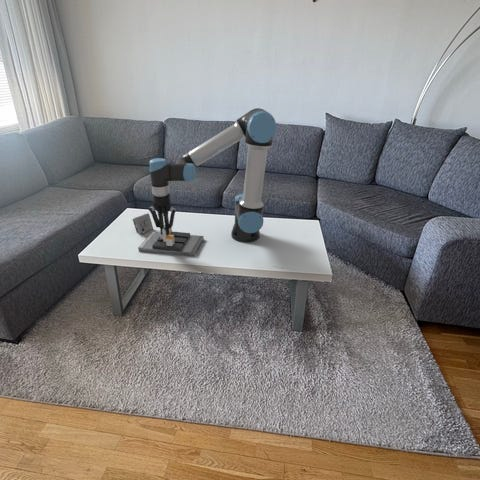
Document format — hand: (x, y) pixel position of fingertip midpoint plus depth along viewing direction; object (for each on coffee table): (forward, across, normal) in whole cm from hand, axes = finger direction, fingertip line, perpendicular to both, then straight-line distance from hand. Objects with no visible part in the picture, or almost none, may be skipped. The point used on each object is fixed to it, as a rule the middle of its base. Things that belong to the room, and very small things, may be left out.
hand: (165, 240), depth 159 cm
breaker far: (+2, +3, -12) cm, 12 cm away
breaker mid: (+2, +3, -6) cm, 7 cm away
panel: (+6, -1, -6) cm, 8 cm away
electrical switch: (+6, +20, -19) cm, 28 cm away
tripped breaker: (+2, -2, 0) cm, 3 cm away
